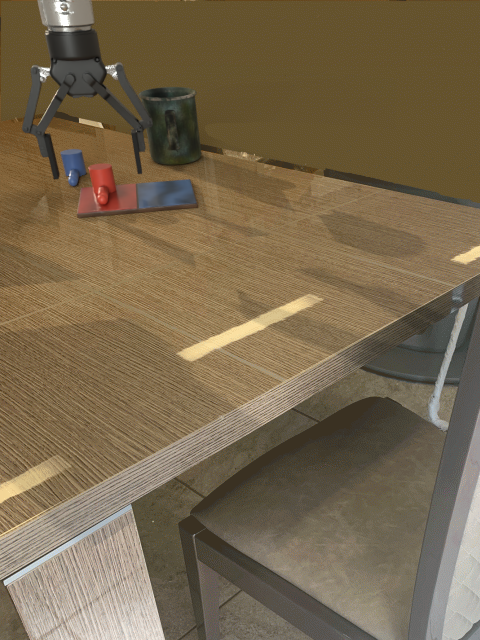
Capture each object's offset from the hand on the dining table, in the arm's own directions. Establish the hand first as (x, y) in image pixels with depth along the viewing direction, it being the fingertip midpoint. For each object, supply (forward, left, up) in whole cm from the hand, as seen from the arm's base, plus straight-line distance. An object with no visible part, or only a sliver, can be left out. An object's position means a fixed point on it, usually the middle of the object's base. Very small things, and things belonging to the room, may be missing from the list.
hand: (98, 174), depth 109 cm
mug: (+14, +18, -3) cm, 23 cm away
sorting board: (+6, -4, -3) cm, 8 cm away
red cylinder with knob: (0, -3, -3) cm, 4 cm away
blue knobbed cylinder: (-5, +11, -3) cm, 12 cm away
